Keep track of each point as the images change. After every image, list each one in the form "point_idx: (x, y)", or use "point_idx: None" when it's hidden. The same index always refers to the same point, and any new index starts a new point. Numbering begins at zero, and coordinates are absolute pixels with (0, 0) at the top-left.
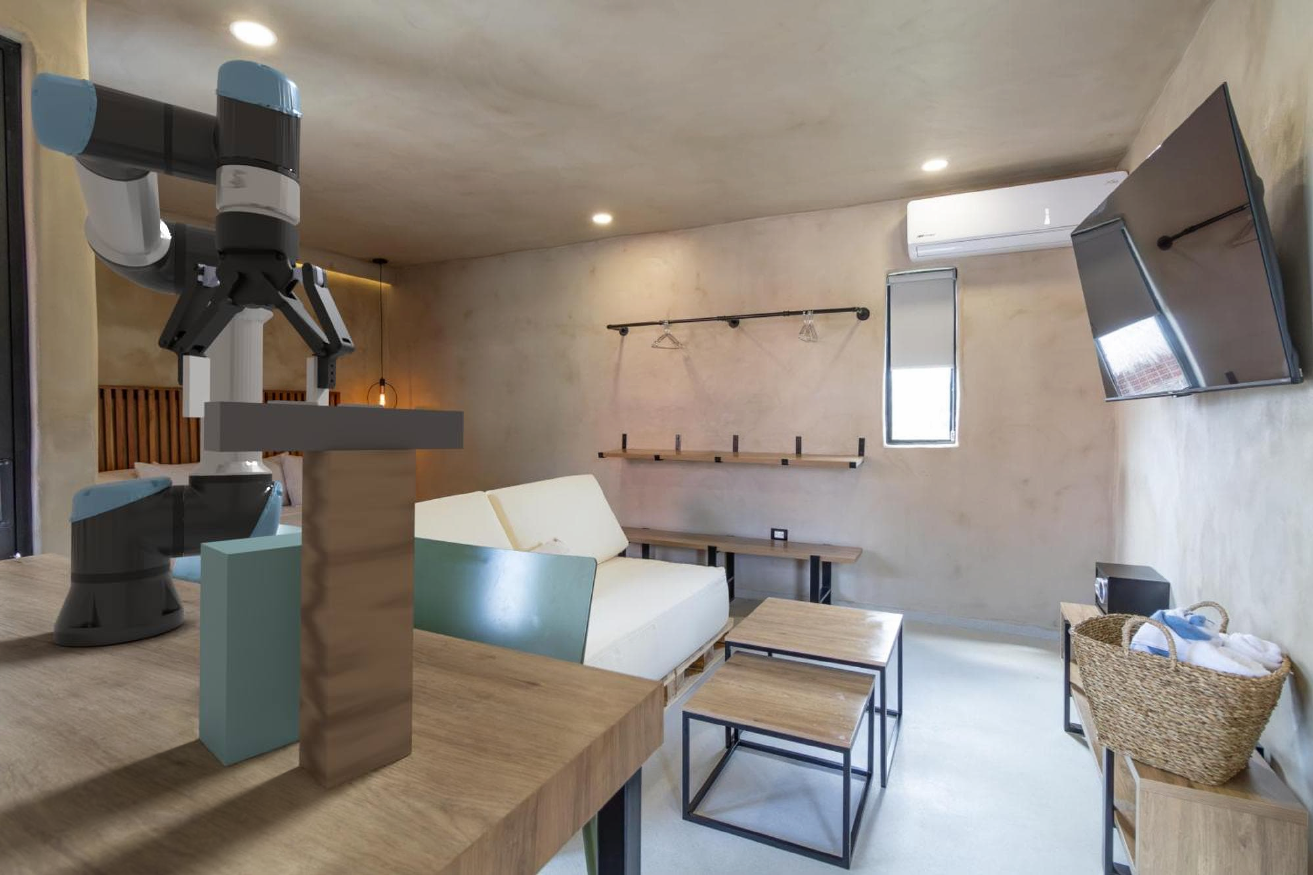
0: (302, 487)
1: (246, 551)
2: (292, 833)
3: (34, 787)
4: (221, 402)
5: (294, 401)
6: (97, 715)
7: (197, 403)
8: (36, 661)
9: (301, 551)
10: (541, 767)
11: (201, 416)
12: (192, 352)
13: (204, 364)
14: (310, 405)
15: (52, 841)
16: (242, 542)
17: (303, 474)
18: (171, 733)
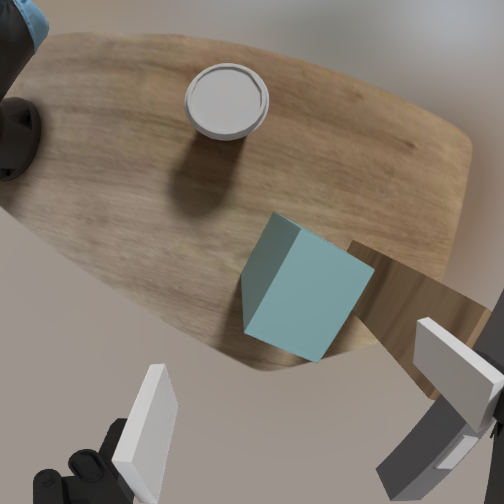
0: (409, 375)
1: (324, 349)
2: (362, 330)
3: (204, 335)
4: (420, 498)
5: (462, 457)
6: (141, 264)
7: (168, 408)
8: (18, 206)
9: (381, 343)
10: (444, 252)
11: (169, 382)
12: (128, 496)
13: (143, 461)
14: (473, 446)
15: (263, 361)
16: (282, 316)
17: (416, 382)
18: (216, 272)
